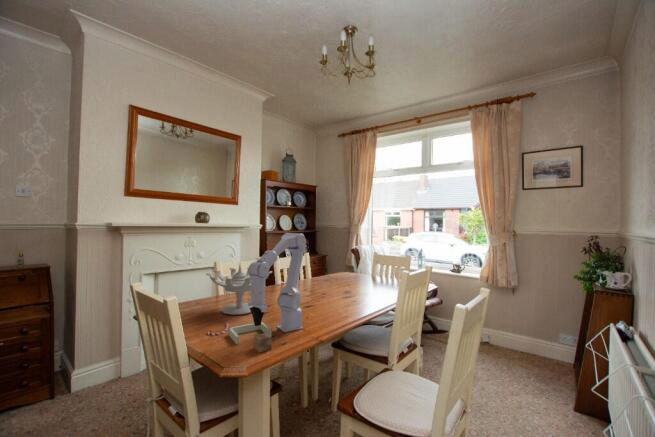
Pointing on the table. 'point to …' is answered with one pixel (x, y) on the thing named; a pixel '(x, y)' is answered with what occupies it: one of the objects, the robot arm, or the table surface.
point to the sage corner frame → (247, 330)
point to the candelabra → (235, 289)
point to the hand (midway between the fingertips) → (257, 325)
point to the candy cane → (219, 332)
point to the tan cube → (262, 342)
